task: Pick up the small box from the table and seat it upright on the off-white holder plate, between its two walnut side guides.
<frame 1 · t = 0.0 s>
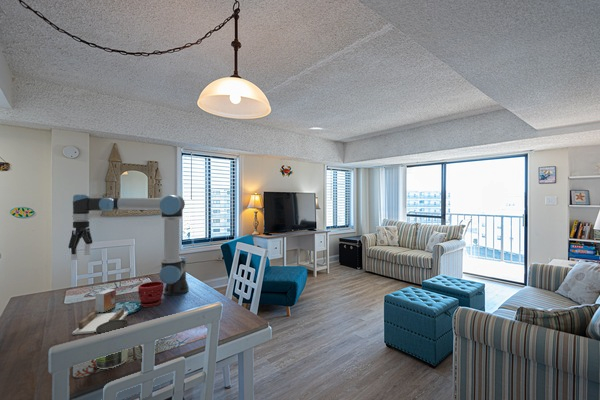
hand: (81, 257, 160), 28 cm above the table, tool pointing down, fingers open, 13 cm apart
plant pot: (151, 304, 163), on the table
coffee can: (112, 362, 106), on the table
small box: (105, 310, 154), on the table
holder: (102, 323, 138), on the table
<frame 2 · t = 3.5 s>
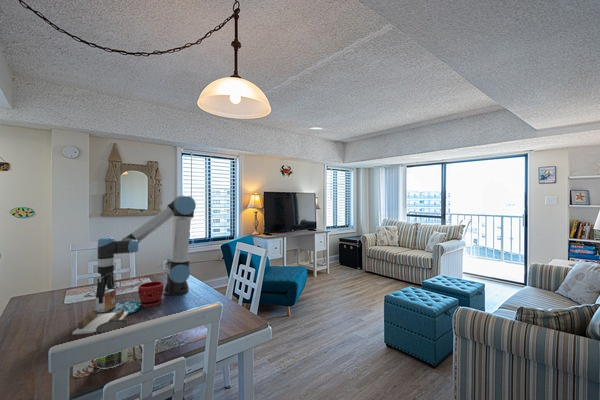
hand: (105, 305, 154), 3 cm above the table, tool pointing down, fingers closed on small box, 9 cm apart
small box: (105, 310, 154), on the table, touching gripper
everything else where it was.
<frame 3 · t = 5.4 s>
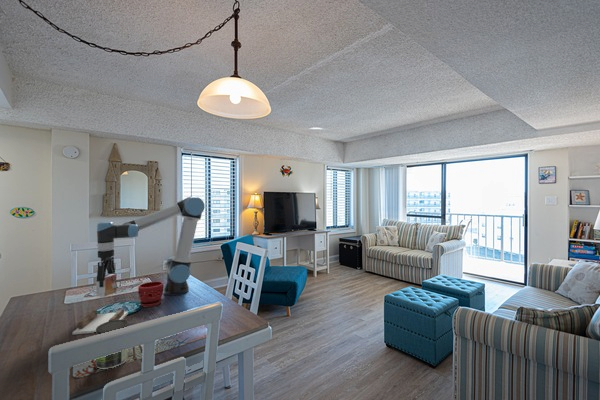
hand: (106, 289, 154), 11 cm above the table, tool pointing down, fingers closed on small box, 9 cm apart
small box: (106, 294, 154), point 9 cm above the table, touching gripper
everything else where it was.
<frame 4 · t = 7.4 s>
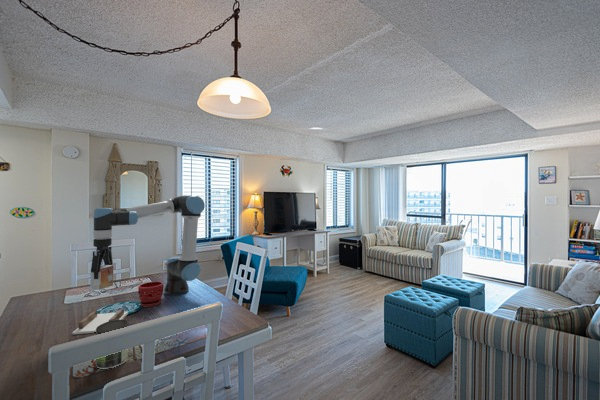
hand: (102, 282, 140), 20 cm above the table, tool pointing down, fingers closed on small box, 9 cm apart
small box: (102, 287, 140), point 17 cm above the table, touching gripper
everything else where it was.
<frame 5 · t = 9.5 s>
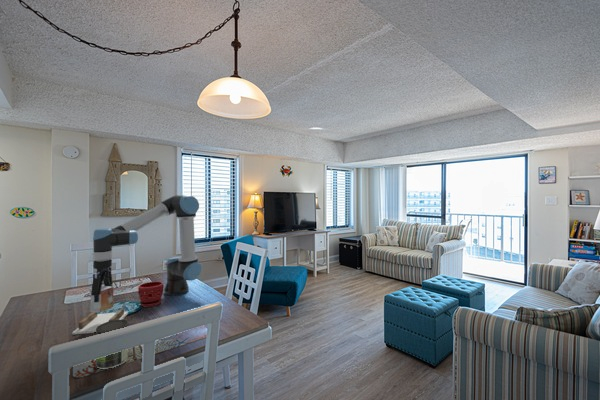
hand: (102, 304, 138), 10 cm above the table, tool pointing down, fingers closed on small box, 9 cm apart
small box: (102, 309, 137), point 7 cm above the table, touching gripper
everything else where it was.
when the fingers open (5 cm above the table, at t = 11.3 s): small box drops 1 cm, resting on holder.
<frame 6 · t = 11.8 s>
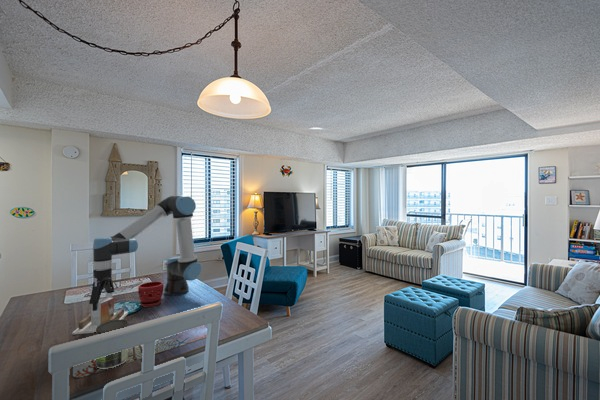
hand: (102, 310, 138), 6 cm above the table, tool pointing down, fingers open, 13 cm apart
small box: (102, 321, 138), point 1 cm above the table, touching holder
everything else where it was.
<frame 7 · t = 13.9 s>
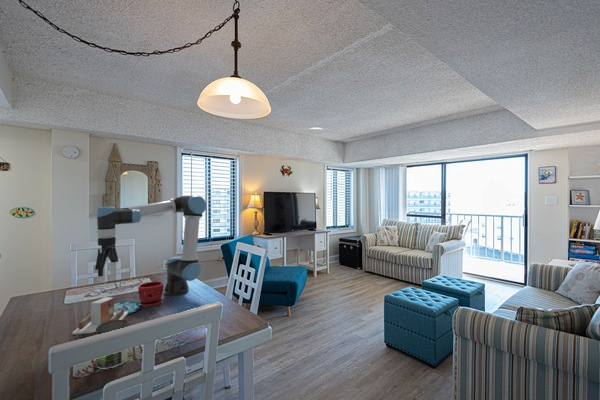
hand: (107, 278, 141), 22 cm above the table, tool pointing down, fingers open, 13 cm apart
nothing on the table moved.
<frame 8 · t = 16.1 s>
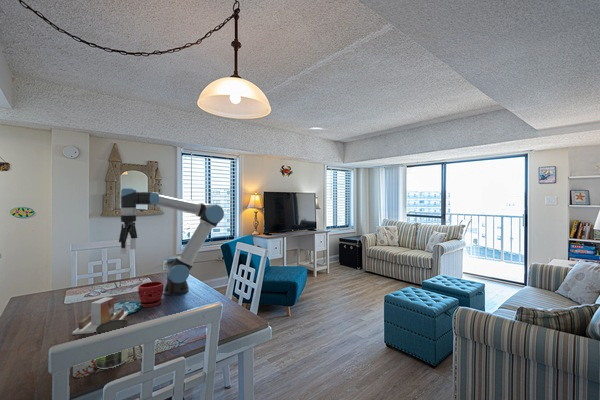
hand: (128, 251, 160), 32 cm above the table, tool pointing down, fingers open, 13 cm apart
nothing on the table moved.
at the end: small box inside the target area on the holder (0.3 cm from its centre), point 0.8 cm above the holder's base; small box tilted 0°; the gripper is holding nothing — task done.
